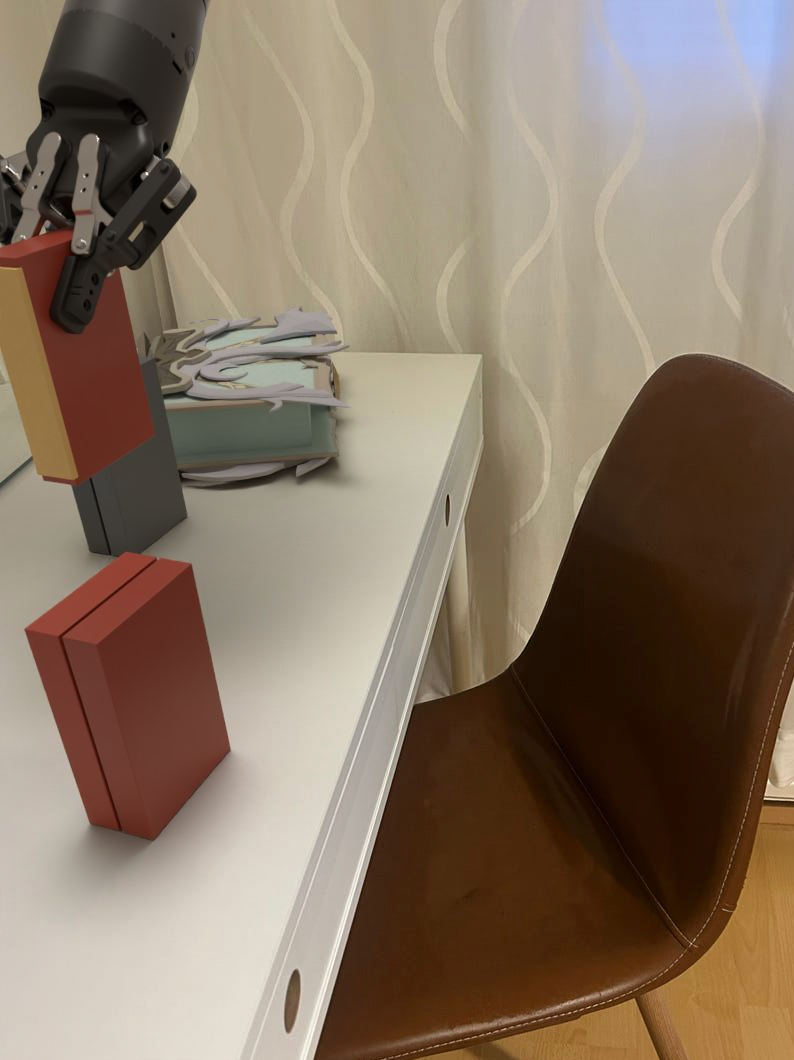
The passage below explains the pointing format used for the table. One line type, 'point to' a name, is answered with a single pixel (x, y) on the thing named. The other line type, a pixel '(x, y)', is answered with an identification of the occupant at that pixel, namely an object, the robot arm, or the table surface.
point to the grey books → (135, 487)
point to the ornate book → (249, 394)
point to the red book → (69, 366)
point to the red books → (133, 691)
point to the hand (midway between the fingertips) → (42, 323)
